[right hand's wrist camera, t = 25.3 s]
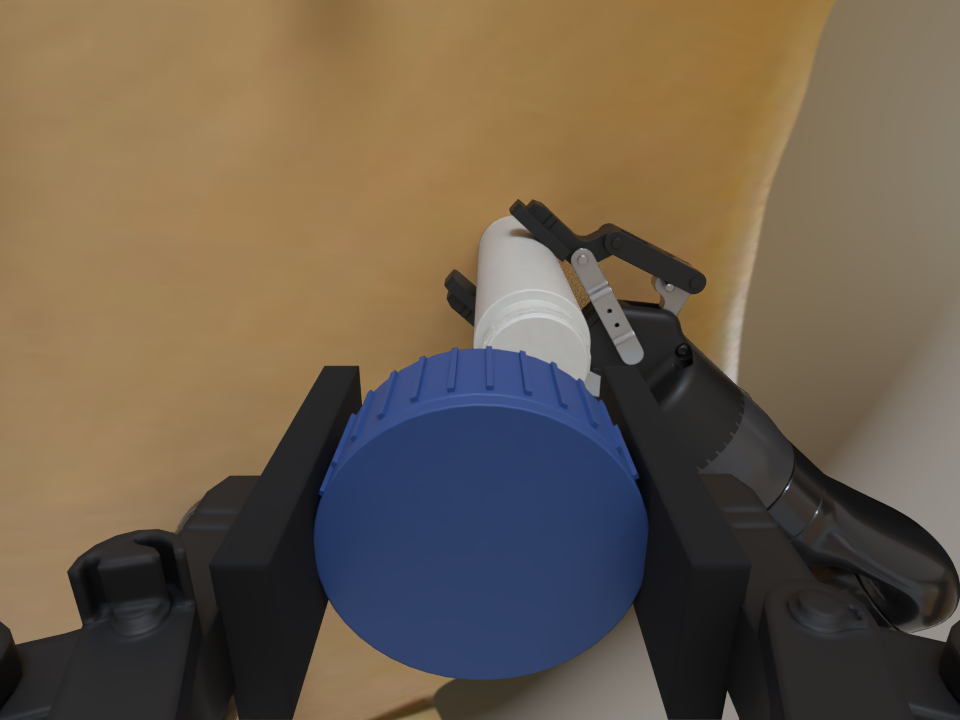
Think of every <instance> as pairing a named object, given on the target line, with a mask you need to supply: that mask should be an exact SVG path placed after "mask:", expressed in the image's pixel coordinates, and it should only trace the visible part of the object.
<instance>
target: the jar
mask: <svg viewBox="0 0 960 720" xmlns="http://www.w3.org/2000/svg"><path fill="white" fill-rule="evenodd" d="M590 343H591V340H590V332H589V328H588V325H587V323H586V320H585V318H584V316H583V314H582V312H581V310H580V307H579V305H578V303H577V301H576V299H575V296H574V294H573V292H572V290H571V288H570V286H569V283H568V281H567V279H566V277H565V275H564V273H563V270H562V268H561V266H560V264H559V262H558V260H557V257H556V256H555V255H554V254H553V253H552V252H551V251H550V250H549V249H548V248H547V247H546V246H545V245H544V244H542V243H541V242H540V241H539V240H538V239H537V238H536V237H535V236H534V235H533V234H532V233H531V232H530V231H528V230H527V229H526V228H525V227H524V226H523V225H522V224H521V223H520V222H519V221H518V220H517V219H516V218H515V217H514V216H506V217H503V218H501V219H498V220H497V221H495V222H493V223H492V224H491V225H490V226H489V227H488V228H487V229H486V231H485V232H484V234H483V236H482V238H481V240H480V244H479V255H478V272H477V289H476V306H475V323H474V340H473V349H476V348H479V349H486V346H492V349H500V350H506V351H512V352H518V353H519V351H520V350H521V351H525V352H526V355H528V356H532V357H535V358H538V359H540V360H542V361H545V362H547V363H549V364H550V363H551V361H553V362H555V363H556V364H557V367H558V368H559V369H561V370H562V371H564V372H566V373H567V374H569V375H570V376H572V377H573V378H574V379H575V380H578V379H579V378H580V379H581V380H583V382H584V384H585V381H586V379H587V376H588V374H589V372H590V363H591V355H590Z"/></svg>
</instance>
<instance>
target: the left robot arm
mask: <svg viewBox="0 0 960 720" xmlns="http://www.w3.org/2000/svg"><path fill="white" fill-rule="evenodd" d="M509 210H510V213H511V214H512V215H513V216H514V217H515V218H516V219H517V220H518V221H519V222H520V223H521V224H522V225H523V226H524V227H525V228H526V229H527V230H528V231H530V232H531V233H532V234H533V235H534V236H535V237H536V238H537V239H538V240H539V241H540V242H541V243H542V244H544V245H545V246H546V247H547V248H548V249H549V250H550V251H551V252H552V253H553V254H554V255H555V256H556V257H558V258H559V259H560V260H561V261H562V262H563V261H564V260H565V259H566V260H567V261H568V262H569V263H570V264H571V265H572V266H573V268H574V270H575V272H576V274H577V276H578V278H579V279H580V281H581V283H582V285H583V287H584V289H585V291H586V293H587V294H588V296H589V298H590V300H591V301H590V302H589V303H588V304H587V305H586V306H585V307H584V308H583V309H582V310H581V312H582V314H583V316H584V318H585V320H586V323H587V325H588V328H589V332H590V340H591V343H590V355H591V363H590V372H589V374H588V376H587V379H586V381H585V387H586V389H587V390H588V391H589V392H590V393H591V394H592V395H593V396H594V397H595V398H596V399H597V401H599V391H600V378H601V366H636V367H637V369H638V371H639V372H640V374H641V376H642V377H643V379H644V381H645V383H646V384H647V386H648V388H649V389H650V391H651V393H652V395H653V396H654V398H655V400H656V401H657V403H658V405H659V407H660V408H661V410H662V412H663V414H664V415H665V417H666V419H667V420H668V422H669V424H670V426H671V427H672V429H673V431H674V432H675V434H676V436H677V438H678V439H679V441H680V443H681V444H682V446H683V448H684V450H685V451H686V453H687V455H688V456H689V458H690V460H691V462H692V463H693V465H694V467H695V468H696V470H697V472H698V474H732V475H733V476H735V477H736V478H738V479H739V480H740V481H742V482H743V483H745V484H746V485H747V486H749V487H750V488H752V489H753V490H754V491H755V492H756V494H757V495H758V497H759V498H760V500H761V501H762V502H763V504H764V505H765V507H766V508H767V512H770V514H771V515H772V517H773V518H774V520H775V521H776V522H777V524H778V528H781V530H782V531H783V532H784V534H785V535H786V537H787V538H788V540H789V541H790V542H791V544H792V545H793V547H794V548H795V550H796V551H797V552H798V554H799V555H800V557H801V558H802V560H803V561H804V562H805V564H806V565H807V567H808V568H809V570H810V571H811V572H812V574H813V575H814V577H815V578H816V580H817V581H818V582H821V583H825V584H828V585H832V586H833V587H835V588H837V589H839V590H841V591H843V592H845V593H847V594H849V595H851V596H852V597H854V598H855V599H856V600H857V601H858V602H860V603H861V604H862V605H863V606H864V607H866V608H867V609H868V611H869V612H870V614H871V615H872V617H873V618H874V620H875V621H876V623H877V624H878V626H881V627H884V628H888V629H891V630H894V631H898V632H903V633H907V634H908V633H913V632H917V631H921V630H925V629H928V628H931V627H934V626H937V625H939V624H941V623H943V622H944V621H946V620H947V619H948V618H950V617H951V615H952V614H953V613H954V611H955V610H956V608H957V606H958V602H959V599H960V582H959V577H958V574H957V571H956V569H955V567H954V564H953V562H952V560H951V559H950V557H949V555H948V554H947V552H946V551H945V550H944V548H943V547H942V546H941V545H940V544H939V542H938V541H937V540H936V539H935V538H934V537H933V536H932V535H931V534H930V533H929V532H927V531H926V530H925V529H924V528H923V527H921V526H920V525H919V524H918V523H916V522H915V521H914V520H912V519H911V518H909V517H908V516H906V515H904V514H903V513H901V512H899V511H897V510H896V509H894V508H892V507H890V506H888V505H886V504H884V503H882V502H879V501H877V500H875V499H873V498H871V497H869V496H867V495H865V494H863V493H861V492H859V491H857V490H854V489H853V488H851V487H849V486H847V485H845V484H843V483H841V482H839V481H837V480H835V479H832V478H830V477H828V476H827V475H825V474H824V473H822V472H821V471H820V470H819V469H818V468H817V467H816V466H815V465H814V464H813V463H812V462H811V461H810V460H809V459H808V458H807V457H806V456H805V455H803V454H802V453H801V452H800V451H799V450H798V449H797V448H796V447H795V446H794V445H793V444H792V443H791V442H790V441H789V440H788V439H787V438H786V437H785V436H784V435H783V434H782V433H781V432H780V430H779V429H778V428H777V426H776V425H775V424H774V422H773V421H772V420H771V419H770V418H769V416H768V415H767V414H766V413H765V412H764V411H763V410H762V409H761V408H760V407H759V406H758V405H757V404H756V403H755V402H754V401H753V400H752V399H751V397H750V396H749V394H748V393H747V392H745V391H744V390H743V389H741V388H739V387H738V386H737V385H736V384H735V383H734V382H733V381H732V380H730V379H729V378H728V377H727V376H726V375H725V374H724V373H723V372H722V371H721V370H720V369H719V368H718V367H717V366H716V365H715V364H714V363H713V362H712V361H710V360H709V359H708V358H707V357H706V356H705V355H704V354H703V353H702V352H701V351H700V350H699V349H698V348H697V347H696V346H695V345H694V344H693V343H691V342H690V341H689V340H688V339H687V338H686V337H685V336H684V334H683V332H682V330H681V326H680V322H679V319H678V318H677V315H678V313H679V312H680V310H681V308H682V307H683V305H684V304H685V302H686V300H687V299H688V297H689V296H690V294H697V293H699V292H701V291H702V290H703V289H704V288H705V285H706V278H705V276H704V275H703V274H702V273H701V272H699V271H698V270H697V269H695V268H694V267H693V266H692V265H690V264H689V263H687V262H685V261H683V260H681V259H680V258H678V257H676V256H674V255H672V254H670V253H668V252H666V251H664V250H662V249H660V248H658V247H656V246H654V245H652V244H650V243H648V242H647V241H645V240H643V239H641V238H639V237H637V236H635V235H633V234H631V233H629V232H627V231H625V230H623V229H621V228H619V227H617V226H615V225H614V224H610V223H608V224H604V225H602V226H601V227H600V228H599V230H597V231H595V232H593V233H591V234H589V235H587V236H579V235H576V234H574V233H573V232H572V231H571V230H570V229H569V228H568V227H567V226H566V225H565V224H564V223H563V222H562V221H560V220H559V219H558V218H557V217H556V216H555V215H554V214H553V213H552V212H551V211H550V210H549V209H548V208H547V207H546V206H545V205H544V204H543V203H541V202H538V201H536V200H533V199H532V201H531V202H530V203H529V204H528V205H527V206H526V205H525V204H524V203H523V202H521V201H520V200H519V199H517V201H516V202H515V203H514V204H513V205H512V206H511V207H510V208H509ZM611 255H614V256H616V257H618V258H620V259H622V260H624V261H626V262H628V263H630V264H632V265H634V266H636V267H638V268H640V269H642V270H644V271H646V272H648V273H650V274H652V275H653V276H652V279H651V283H652V286H653V287H654V289H655V290H656V291H657V292H658V293H659V294H660V297H661V299H660V303H659V304H655V303H646V302H636V301H627V300H617V299H616V297H615V295H614V293H613V291H612V289H611V288H610V286H609V284H608V282H607V280H606V279H605V277H604V275H603V273H602V271H601V269H600V267H599V265H598V263H597V262H599V261H601V260H603V259H605V258H607V257H609V256H611ZM444 285H445V287H446V288H447V289H448V294H447V300H448V302H449V304H450V306H451V308H453V309H454V310H455V311H456V312H457V313H459V314H460V315H461V316H462V317H463V318H465V319H466V320H467V321H468V322H469V323H470V324H471V325H473V326H474V323H475V306H476V289H477V287H476V286H475V285H473V284H472V283H471V282H470V281H469V280H468V279H467V278H465V277H464V276H463V275H462V274H461V273H460V272H458V271H457V270H455V269H454V270H453V271H452V272H451V273H450V274H449V275H448V277H447V278H446V279H445V284H444ZM200 501H201V500H200ZM200 501H199V502H197V503H196V504H195V505H193V507H192V508H191V509H190V510H189V511H188V512H187V514H186V515H185V516H184V518H183V519H182V520H181V522H180V524H179V525H178V528H177V530H176V531H175V532H174V533H175V534H176V535H178V533H179V532H180V531H183V526H184V524H185V523H186V522H187V520H188V519H189V517H190V516H191V515H194V510H195V509H196V507H197V506H198V504H199V503H200ZM237 715H238V712H237V707H236V702H235V697H234V692H233V694H232V697H231V699H230V702H229V704H228V706H227V709H226V711H225V714H224V716H223V718H222V720H236V718H237Z"/></svg>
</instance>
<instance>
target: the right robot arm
mask: <svg viewBox="0 0 960 720" xmlns="http://www.w3.org/2000/svg"><path fill="white" fill-rule="evenodd" d="M600 400H602V401H603V402H604V404H605V406H606V408H607V411H608V413H609V416H610V418H611V421H612V423H613V426H614V425H618V427H619V430H620V432H621V434H622V437H623V439H624V442H625V444H626V447H627V449H628V451H629V454H630V456H631V459H632V461H633V463H634V466H635V468H636V471H637V473H638V475H639V479H636V480H635V481H636V484H637V486H638V489H639V491H640V494H641V496H642V499H643V502H644V505H645V509H646V512H647V515H648V521H649V530H648V540H647V548H646V556H645V565H644V573H643V581H642V586H641V588H640V590H639V592H638V594H637V596H636V598H635V600H634V602H633V605H634V608H635V612H636V615H637V618H638V622H639V625H640V628H641V632H642V635H643V638H644V641H645V645H646V648H647V651H648V655H649V658H650V661H651V665H652V668H653V671H654V675H655V678H656V681H657V684H658V688H659V691H660V694H661V698H662V701H663V704H664V708H665V711H666V714H667V718H668V720H721V719H722V714H723V709H724V704H725V699H726V694H727V690H728V693H729V695H730V697H731V700H732V702H733V705H734V707H735V709H736V712H737V714H738V717H739V720H960V620H959V621H958V622H957V623H956V624H954V625H953V626H952V627H951V630H950V633H949V636H948V638H947V641H946V642H942V641H938V640H933V639H929V638H925V637H920V636H916V635H911V634H907V633H903V632H898V631H894V630H891V629H888V628H884V627H881V626H878V624H877V623H876V621H875V620H874V618H873V617H872V615H871V614H870V612H869V611H868V609H867V608H866V607H864V606H863V605H862V604H861V603H860V602H858V601H857V600H856V599H855V598H854V597H852V596H851V595H849V594H847V593H845V592H843V591H841V590H839V589H837V588H835V587H833V586H832V585H828V584H825V583H821V582H818V581H817V580H816V578H815V577H814V575H813V574H812V572H811V571H810V570H809V568H808V567H807V565H806V564H805V562H804V561H803V560H802V558H801V557H800V555H799V554H798V552H797V551H796V550H795V548H794V547H793V545H792V544H791V542H790V541H789V540H788V538H787V537H786V535H785V534H784V532H783V531H782V530H781V528H778V524H777V522H776V521H775V520H774V518H773V517H772V515H771V514H770V512H767V508H766V507H765V505H764V504H763V502H762V501H761V500H760V498H759V497H758V495H757V494H756V492H755V491H754V490H753V489H752V488H750V487H749V486H747V485H746V484H745V483H743V482H742V481H740V480H739V479H738V478H736V477H735V476H733V475H732V474H698V472H697V470H696V468H695V467H694V465H693V463H692V462H691V460H690V458H689V456H688V455H687V453H686V451H685V450H684V448H683V446H682V444H681V443H680V441H679V439H678V438H677V436H676V434H675V432H674V431H673V429H672V427H671V426H670V424H669V422H668V420H667V419H666V417H665V415H664V414H663V412H662V410H661V408H660V407H659V405H658V403H657V401H656V400H655V398H654V396H653V395H652V393H651V391H650V389H649V388H648V386H647V384H646V383H645V381H644V379H643V377H642V376H641V374H640V372H639V371H638V369H637V367H636V366H601V378H600V391H599V401H600ZM361 407H362V399H361V386H360V373H359V366H324V368H323V370H322V371H321V373H320V375H319V376H318V378H317V380H316V382H315V383H314V385H313V387H312V388H311V390H310V392H309V394H308V395H307V397H306V399H305V400H304V402H303V404H302V406H301V407H300V409H299V411H298V412H297V414H296V416H295V418H294V419H293V421H292V423H291V425H290V426H289V428H288V430H287V431H286V433H285V435H284V437H283V438H282V440H281V442H280V443H279V445H278V447H277V449H276V450H275V452H274V454H273V455H272V457H271V459H270V461H269V462H268V464H267V466H266V467H265V469H264V471H263V473H262V474H261V476H229V477H227V478H226V479H225V480H223V481H222V482H220V483H219V484H218V485H216V486H215V487H213V488H212V489H211V490H209V491H208V492H207V493H206V494H205V496H204V497H203V499H202V500H201V501H200V503H199V504H198V506H197V507H196V509H195V510H194V515H191V516H190V517H189V519H188V520H187V522H186V523H185V524H184V526H183V531H180V532H179V533H178V535H176V534H175V533H172V532H168V531H164V530H159V529H153V530H137V531H133V532H129V533H125V534H121V535H117V536H114V537H112V538H110V539H108V540H106V541H103V542H101V543H99V544H97V545H95V546H93V547H92V548H91V549H89V550H88V551H87V552H85V553H84V554H82V555H81V556H80V557H78V558H77V560H76V561H75V562H74V563H73V565H72V566H71V567H70V569H69V570H68V571H67V573H68V576H69V580H70V583H71V587H72V590H73V593H74V597H75V600H76V603H77V607H78V610H79V613H80V617H81V620H82V623H83V626H82V628H81V629H78V630H75V631H72V632H68V633H65V634H60V635H56V636H52V637H47V638H43V639H39V640H34V641H30V642H26V643H21V644H17V645H15V643H14V640H13V637H12V634H11V631H10V629H9V628H8V627H6V626H5V625H4V624H3V623H2V622H0V720H222V718H223V716H224V714H225V711H226V709H227V706H228V704H229V702H230V699H231V697H232V694H233V692H234V697H235V702H236V707H237V712H238V718H239V720H292V719H293V715H294V712H295V709H296V706H297V702H298V699H299V696H300V692H301V689H302V686H303V682H304V679H305V676H306V673H307V669H308V666H309V663H310V659H311V656H312V653H313V649H314V646H315V643H316V639H317V636H318V633H319V630H320V626H321V623H322V620H323V616H324V613H325V610H326V606H327V603H328V600H329V599H328V597H327V595H326V594H325V591H324V589H323V586H322V584H321V581H320V579H319V576H318V572H317V566H316V558H315V549H314V540H313V533H314V522H315V518H316V514H317V510H318V506H319V503H320V500H321V498H322V496H320V495H318V494H319V490H320V488H321V485H322V483H323V481H324V478H325V476H326V473H327V471H328V469H329V466H330V464H331V461H332V459H333V456H334V454H335V452H336V449H337V447H338V444H339V442H340V440H341V438H342V435H343V433H344V430H345V428H346V425H347V423H348V421H349V418H350V416H351V415H352V413H353V414H355V415H357V413H358V411H359V410H360V408H361Z"/></svg>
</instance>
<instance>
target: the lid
mask: <svg viewBox="0 0 960 720" xmlns="http://www.w3.org/2000/svg"><path fill="white" fill-rule="evenodd" d="M636 479H639V475H638V473H637V471H636V468H635V466H634V463H633V461H632V459H631V456H630V454H629V451H628V449H627V447H626V444H625V442H624V439H623V437H622V434H621V432H620V430H619V427H618V425H614V426H613V423H612V421H611V418H610V416H609V413H608V411H607V408H606V406H605V404H604V402H603V401H602V400H600V401H597V399H596V398H595V397H594V396H593V395H592V394H591V393H590V392H589V391H588V390H587V389H586V387H585V384H584V382H583V380H581V379H580V378H579V379H578V380H575V379H574V378H573V377H572V376H570V375H569V374H567V373H566V372H564V371H562V370H561V369H559V368H558V367H557V364H556V363H555V362H553V361H551V363H550V364H549V363H547V362H545V361H542V360H540V359H538V358H535V357H532V356H528V355H526V352H525V351H521V350H520V351H519V353H518V352H512V351H506V350H500V349H492V346H486V349H479V348H476V349H465V350H458V348H452V351H451V352H447V353H442V354H437V355H435V356H432V357H429V358H426V357H425V356H423V357H420V358H419V361H418V362H416V363H414V364H412V365H410V366H408V367H406V368H404V369H402V370H401V371H399V372H398V373H397V371H396V370H395V371H393V372H392V373H391V374H390V377H389V379H387V380H386V381H385V382H384V383H383V384H382V385H381V386H380V387H378V388H377V389H376V390H375V391H374V392H373V391H372V390H370V391H369V392H368V393H367V396H366V398H365V401H364V403H363V405H362V407H361V408H360V410H359V411H358V413H357V415H355V414H353V413H352V415H351V416H350V418H349V421H348V423H347V425H346V428H345V430H344V433H343V435H342V438H341V440H340V442H339V444H338V447H337V449H336V452H335V454H334V456H333V459H332V461H331V464H330V466H329V469H328V471H327V473H326V476H325V478H324V481H323V483H322V485H321V488H320V490H319V494H318V495H320V496H322V498H321V500H320V503H319V506H318V510H317V514H316V518H315V522H314V533H313V540H314V549H315V558H316V566H317V572H318V576H319V579H320V581H321V584H322V586H323V589H324V591H325V594H326V595H327V597H328V599H329V601H330V602H331V604H332V606H333V607H334V609H335V610H336V612H337V613H338V614H339V616H340V617H341V618H342V619H343V621H344V622H345V623H346V624H347V625H348V626H349V627H350V628H351V629H352V630H353V631H354V632H355V633H356V634H357V635H358V636H359V637H360V638H361V639H363V640H364V641H365V642H367V643H368V644H369V645H371V646H372V647H373V648H375V649H376V650H378V651H380V652H381V653H383V654H385V655H386V656H388V657H390V658H391V659H394V660H396V661H398V662H400V663H402V664H405V665H407V666H409V667H412V668H415V669H418V670H421V671H424V672H427V673H431V674H436V675H440V676H444V677H451V678H459V679H467V680H494V679H507V678H513V677H519V676H525V675H529V674H532V673H536V672H540V671H543V670H546V669H549V668H552V667H554V666H557V665H559V664H562V663H564V662H566V661H568V660H570V659H572V658H574V657H576V656H578V655H580V654H581V653H583V652H584V651H586V650H587V649H589V648H590V647H592V646H593V645H595V644H596V643H597V642H599V641H600V640H601V639H602V638H603V637H604V636H606V635H607V634H608V633H609V632H610V631H611V630H612V629H613V628H614V627H615V626H616V625H617V624H618V623H619V621H620V620H621V619H622V618H623V617H624V615H625V614H626V612H627V611H628V610H629V608H630V607H631V605H632V604H633V602H634V600H635V598H636V596H637V594H638V592H639V590H640V588H641V586H642V581H643V573H644V565H645V556H646V548H647V540H648V530H649V521H648V515H647V512H646V509H645V505H644V502H643V499H642V496H641V494H640V491H639V489H638V486H637V484H636V481H635V480H636Z"/></svg>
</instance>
